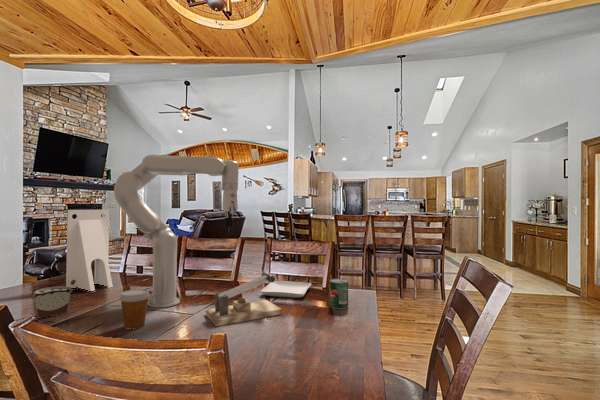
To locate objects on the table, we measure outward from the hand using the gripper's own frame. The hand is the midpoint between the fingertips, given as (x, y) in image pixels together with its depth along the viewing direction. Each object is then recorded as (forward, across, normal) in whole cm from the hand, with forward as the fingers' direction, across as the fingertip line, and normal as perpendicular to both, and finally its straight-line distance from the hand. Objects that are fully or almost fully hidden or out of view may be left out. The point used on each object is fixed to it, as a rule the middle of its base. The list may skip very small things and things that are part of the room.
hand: (228, 226), depth 152 cm
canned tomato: (+32, -35, -39) cm, 62 cm away
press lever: (+23, -27, -1) cm, 35 cm away
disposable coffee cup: (+34, -22, +38) cm, 56 cm away
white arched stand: (+34, +46, +56) cm, 80 cm away
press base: (+33, -27, 0) cm, 42 cm away
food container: (+35, +7, +67) cm, 76 cm away
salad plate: (+33, -6, -29) cm, 44 cm away
